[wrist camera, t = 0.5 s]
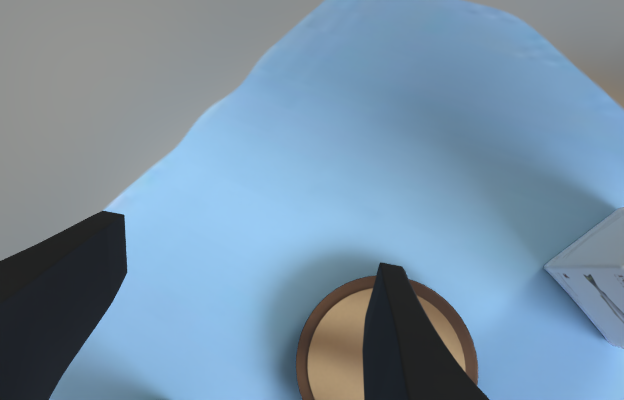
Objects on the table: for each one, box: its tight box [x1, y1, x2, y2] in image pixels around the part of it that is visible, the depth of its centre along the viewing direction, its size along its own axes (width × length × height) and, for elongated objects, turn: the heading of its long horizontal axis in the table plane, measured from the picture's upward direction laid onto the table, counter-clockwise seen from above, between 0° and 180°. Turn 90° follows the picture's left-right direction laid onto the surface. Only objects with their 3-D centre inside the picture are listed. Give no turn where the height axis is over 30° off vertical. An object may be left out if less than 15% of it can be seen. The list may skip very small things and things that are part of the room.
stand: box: [296, 276, 478, 400], centre depth 37 cm, size 13×13×2 cm
